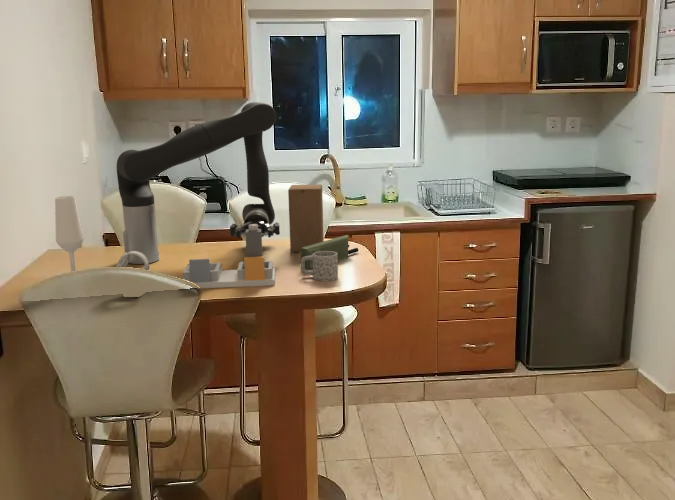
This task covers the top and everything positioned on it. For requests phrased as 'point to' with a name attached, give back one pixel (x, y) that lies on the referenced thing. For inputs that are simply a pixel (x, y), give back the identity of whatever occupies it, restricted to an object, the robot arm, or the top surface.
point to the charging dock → (230, 273)
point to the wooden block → (305, 216)
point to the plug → (253, 241)
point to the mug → (322, 265)
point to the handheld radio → (328, 249)
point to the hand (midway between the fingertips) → (254, 234)
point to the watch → (126, 258)
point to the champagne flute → (68, 226)
